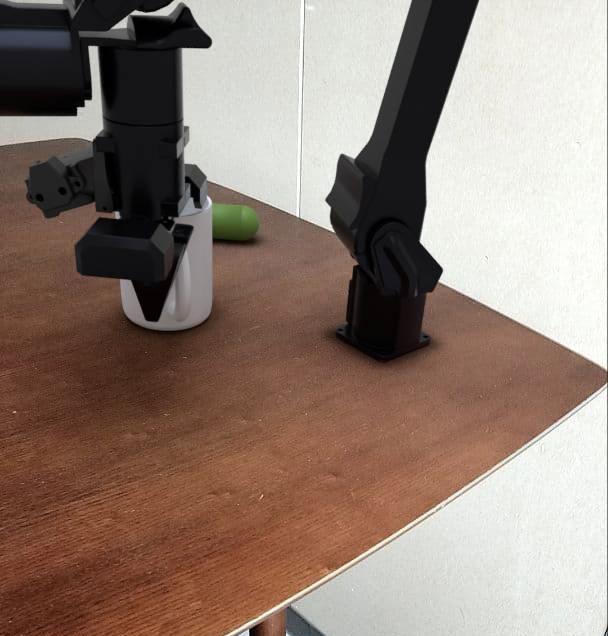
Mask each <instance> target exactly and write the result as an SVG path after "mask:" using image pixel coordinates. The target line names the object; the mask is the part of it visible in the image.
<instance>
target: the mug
mask: <svg viewBox="0 0 608 636" xmlns="http://www.w3.org/2000/svg"><path fill="white" fill-rule="evenodd" d="M212 203H213V201H212V199H211V198H210V196H208V195H207V200H206V202H205V204H204V206H203V208H202V209H197V208H195V207H194V203H193V198H189V200H188V202H187V204H186V205H185V207H184V209H183V211H182V212H181V214H180V216H179V218H177V217H176V223H180V224H189V225H192V226H193V227H194V230H193V233H192V235H191V238H190V240H189V243H188V246H187V248H186V251H185V254H184V256H183V259H182V261H181V264H180V267H179V269H178V272H177V275H176V277H175V280H174V282H173V285H172V288H171V290H170V293H169V296H168V298H167V301H166V304H165V306H164V309H163V312H162V314H161V317H160V319H159V321H158V322H148V321H146V320H145V318H144V315H143V313H142V310H141V307H140V304H139V302H138V299H137V296H136V293H135V290H134V288H133V285H132V282H131V280H123V279H119V283H120V295H121V296H120V297H121V305H122V309H123V313H124V314H125V316H126V317H127V318H128V319H129V320H130V321H131V322H132V323H134V324H136V325H137V326H139V327H142V328H145V329H149V330H154V331H163V332H164V331H165V332H166V331H168V332H171V331H183V330H187V329H191V328H195V327H196V326H198V325H200V324H202V323H203V322H205V321H206V320H207V319H208V318H209V316H210V314H211V312H212V308H213V238H212ZM114 213H115V219H119V218H120V217H121V216H119V212H115V211H114Z"/></svg>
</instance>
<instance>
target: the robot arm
mask: <svg viewBox="0 0 608 636" xmlns="http://www.w3.org/2000/svg"><path fill="white" fill-rule="evenodd" d="M174 1H175V0H62V3H45V2H44V3H43V2H17V1H11V0H0V117H78V108H86V101H89V102H90V101H92V100H93V81H92V69H91V59H90V49H89V47H96V48H97V60H98V73H99V76H98V77H99V88H100V101H101V103H100V104H101V117H102V129H101V130H100V131H99V132H98V134H96V135H95V137H93V138H92V143H91V145H89V146H86V147H83V148H79V149H76V150H72V151H69V152H66V153H63V154H59V155H50V156H49V157H48V158H47V159H45V160H43V161H41V160H40V159H37V160H35V161H34V162H33V163H32V164H31V165H30V166H29V167H28V173H27V175H26V176H25V179H24V180H23V182H24V183H25V186H26V187H27V188H26V189H27V192H26V195H25V197H26V200H27V202H28V203H30V204H32V205H35V206H36V207H37V208H38V209H39V210H40V211H41V212H42V215H43V218H44V219H53V218H57V217H59V216H60V214H61V213H63V212H67V211H70V210H75V209H77V208H81V207H84V206H87V205H91V204H94V205H95V206H94V208H95V213H104V214H113V213H115V212H119V216H121V217H120V218H119V219H116V218H112V217H103V216H99V217H97V219H96V220H94V222H92V224H91V225H89V227H87V229H85V231H84V232H83V234H82V235H81V236H80V237H79V239H78V240H77V241H76V243H75V244H74V246H73V247H74V257H75V268H76V273H78V274H80V275H81V276H83V277H93V278H104V279H115V280H120V279H123V280H131V282H132V285H133V288H134V290H135V293H136V296H137V299H138V302H139V304H140V307H141V310H142V313H143V315H144V318H145V320H146V321H148V322H158V321H159V319H160V317H161V314H162V312H163V309H164V306H165V304H166V301H167V298H168V296H169V293H170V290H171V288H172V285H173V282H174V280H175V277H176V275H177V272H178V269H179V267H180V264H181V261H182V259H183V256H184V254H185V251H186V248H187V246H188V243H189V240H190V238H191V235H192V233H193V230H194V227H193V226H192V225H189V224H180V223H176V217H177V218H179V216H180V214H181V212H182V211H183V209H184V207H185V205H186V204H187V202H188V200H189V198H193V203H194V207H195V208H197V209H202V208H203V206H204V204H205V202H206V200H207V196H208V176H207V174H205V173H204V172H203V170H201V168H200V167H199V166H198V165H197V164H196V163H185V148H186V147H187V146H188V144H189V142H190V126H189V125H185V121H184V120H185V118H184V117H185V116H184V114H185V113H184V69H183V67H184V63H183V62H184V61H183V49H200V50H201V49H202V50H203V49H205V50H208V49H210V48H211V47H212V45H213V39H212V38H211V36H210V35H209V34H208V33H206V31H204V28H203V29H202V27H201V26H200V25H199V23H198V22H197V20H196V19H195V17H194V15H193V13H192V10H191V9H190V7H189V6H188V5H187V4H186V3H185V2H183V1H181V2H178V4H177V5H176V7H175V8H174V9H173V10H172V11H171V12H170V13H169V14H168V15H158V14H157V15H154V14H152V15H151V14H150V13H155V12H157V11H159V10H163V9H164V8H166V7H168V6H170V4H172V3H173V2H174ZM479 3H480V0H410V5H409V7H408V11H407V15H406V17H405V22H404V25H403V28H402V31H401V34H400V39H399V42H398V45H397V49H396V53H395V55H394V59H393V62H392V65H391V68H390V73H389V75H388V78H387V82H386V86H385V90H384V93H383V96H382V99H381V103H380V106H379V110H378V112H377V116H376V120H375V123H374V127H373V130H372V133H371V135H370V138H369V139H368V141H367V142H366V143H365V145H364V146H363V148H362V149H360V151H359V153H358V154H357V155H356V156H355V158H354V157H352V156H349V155H347V154H344V153H340V154H339V156H338V159H337V162H336V169H335V177H334V182H333V185H332V187H331V190H330V191H329V193H328V194H327V196H326V197H325V199H324V201H325V203H326V204H327V205H328V206H329V208H330V210H329V223H330V225H331V227H332V229H333V232H334V233H335V236H336V238H338V239H339V240H340V242H341V243H342V244H343V245H344V247H345V248H346V249H347V251H348V252H349V256H350V257H351V258H352V260H355V262H356V263H357V264H355V265H353V266H352V272H351V273H352V274H351V279H349V281H348V292H347V300H346V301H347V302H346V313H345V322H346V323H347V324H344V325H341V326H338V327H336V328H335V329H334V335H335V336H336V337H338V338H340V340H341V339H342V340H343V341H345V342H347V343H348V344H350V345H352V346H354V347H356V348H358V349H359V350H361V351H362V352H364V353H366V354H368V355H370V356H372V357H373V358H375V359H377V360H379V361H383V362H384V361H385V362H386V361H389V360H391V359H393V358H396V357H398V356H401V355H403V354H406V353H408V352H410V351H413V350H416V349H418V348H420V347H424V346H426V345H428V344H430V343H431V341H432V336H431V335H429V334H428V333H426V332H424V331H422V329H423V323H424V322H423V321H424V315H425V309H426V308H425V307H426V302H427V297H428V296H427V295H428V294H430V293H433V292H434V291H435V289H436V288H437V286H438V283H439V281H440V279H441V277H442V275H443V273H444V268H443V266H441V264H440V263H439V262H438V261H437V259H436V258H435V257H434V256H433V255H432V254H431V253H430V252H429V251H428V250H427V249H426V247H425V245H423V244H422V242H421V238H422V232H423V227H424V222H425V218H426V217H425V216H426V212H427V205H428V197H427V196H428V195H427V159H428V155H429V152H430V150H431V145H432V143H433V140H434V137H435V134H436V131H437V128H438V126H439V122H440V119H441V116H442V113H443V110H444V108H445V104H446V101H447V98H448V95H449V92H450V89H451V86H452V83H453V80H454V77H455V74H456V71H457V68H458V65H459V62H460V60H461V57H462V53H463V51H464V49H465V48H464V47H465V45H466V41H467V38H468V35H469V33H470V30H471V26H472V23H473V20H474V18H475V15H476V12H477V8H478V6H479ZM135 11H136V12H140V13H144V14H132V13H134V12H135ZM148 13H149V14H148ZM126 18H127V20H126V27H119V28H118V27H117V28H114V27H115V26H117V25H118V24H119V23H120V22H122V21H123V20H124V19H126Z"/></svg>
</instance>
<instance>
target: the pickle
mask: <svg viewBox="0 0 608 636" xmlns="http://www.w3.org/2000/svg"><path fill="white" fill-rule="evenodd" d="M259 228H260V219H259V216H258V214H257V213H256V211H255V210H254V209H253V208H252V207H249V206H247V205H239V204H228V203H216V202H215V203H213V202H212V239H215V240H216V239H217V240H228V241H240V242H241V241H242V242H244V241H249V240H251V239H253V238H254V237H255V236H256V235H257V233H258V231H259Z"/></svg>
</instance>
